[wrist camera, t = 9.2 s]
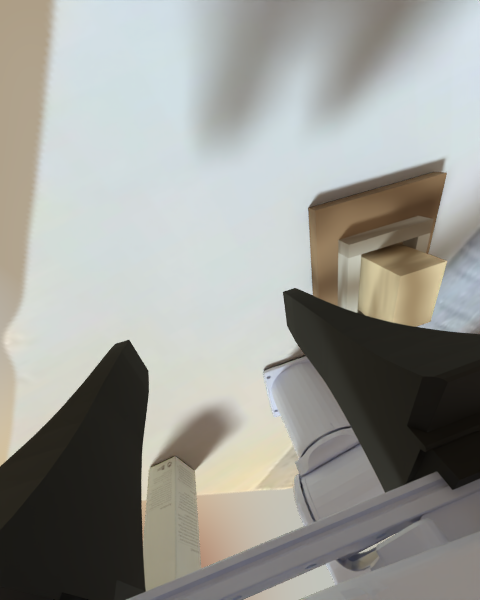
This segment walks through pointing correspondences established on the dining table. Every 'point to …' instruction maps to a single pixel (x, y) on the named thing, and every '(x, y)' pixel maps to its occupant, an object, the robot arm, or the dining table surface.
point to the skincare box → (170, 524)
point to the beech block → (399, 284)
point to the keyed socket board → (369, 232)
